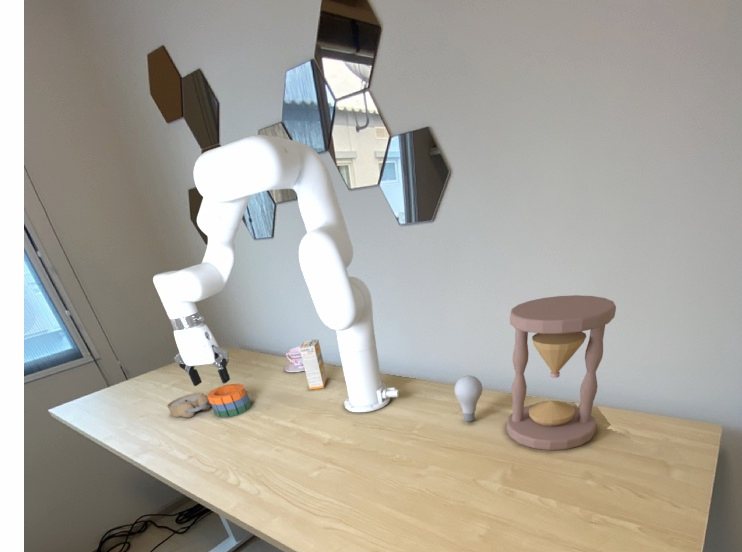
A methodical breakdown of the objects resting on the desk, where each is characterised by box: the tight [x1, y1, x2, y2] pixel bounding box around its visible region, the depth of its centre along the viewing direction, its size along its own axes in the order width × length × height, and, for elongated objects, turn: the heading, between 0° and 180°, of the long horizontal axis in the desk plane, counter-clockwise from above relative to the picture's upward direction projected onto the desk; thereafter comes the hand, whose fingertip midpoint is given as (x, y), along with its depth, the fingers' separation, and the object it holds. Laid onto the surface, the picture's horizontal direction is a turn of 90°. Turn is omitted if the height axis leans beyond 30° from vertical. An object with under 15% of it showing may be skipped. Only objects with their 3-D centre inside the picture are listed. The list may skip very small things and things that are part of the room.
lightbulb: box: [454, 375, 483, 423], centre depth 93 cm, size 6×6×11 cm
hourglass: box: [506, 294, 617, 451], centre depth 81 cm, size 18×18×25 cm
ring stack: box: [211, 390, 252, 418], centre depth 122 cm, size 11×11×4 cm
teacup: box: [284, 345, 305, 373], centre depth 146 cm, size 12×12×6 cm
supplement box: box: [300, 338, 328, 390], centre depth 127 cm, size 8×5×13 cm, turn 179°
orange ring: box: [206, 383, 247, 405], centre depth 120 cm, size 11×11×2 cm
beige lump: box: [166, 392, 212, 419], centre depth 125 cm, size 11×5×15 cm
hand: (212, 382), depth 119 cm, fingers open, 9 cm apart
